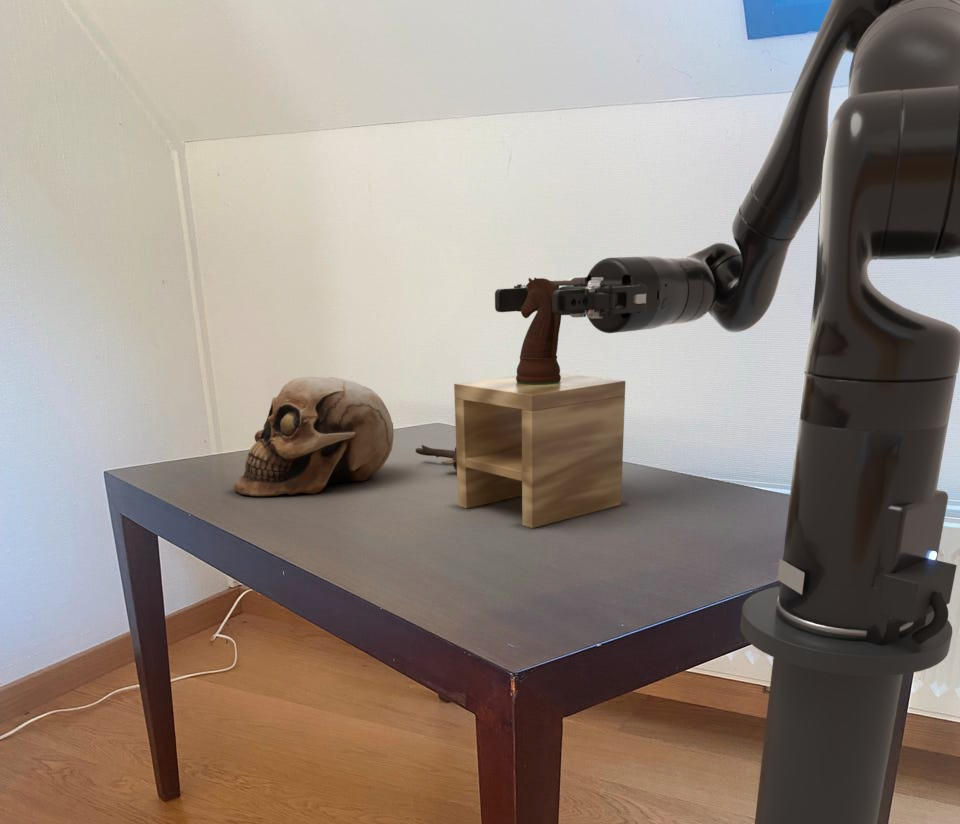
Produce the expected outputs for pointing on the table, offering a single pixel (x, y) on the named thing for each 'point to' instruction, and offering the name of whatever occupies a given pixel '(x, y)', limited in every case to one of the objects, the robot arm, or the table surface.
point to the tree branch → (439, 454)
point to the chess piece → (540, 336)
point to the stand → (541, 445)
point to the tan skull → (318, 438)
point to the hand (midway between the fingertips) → (525, 302)
